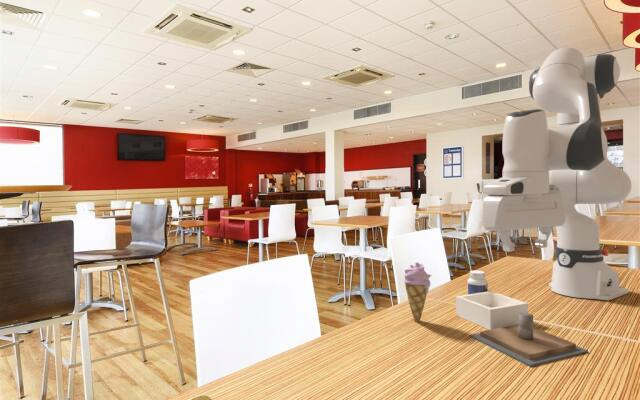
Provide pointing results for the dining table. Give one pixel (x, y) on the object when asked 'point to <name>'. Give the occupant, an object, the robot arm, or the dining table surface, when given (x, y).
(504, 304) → the dish
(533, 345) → the lid
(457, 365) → the dining table surface
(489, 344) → the mat
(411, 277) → the ice cream cone
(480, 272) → the pill bottle
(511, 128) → the robot arm
